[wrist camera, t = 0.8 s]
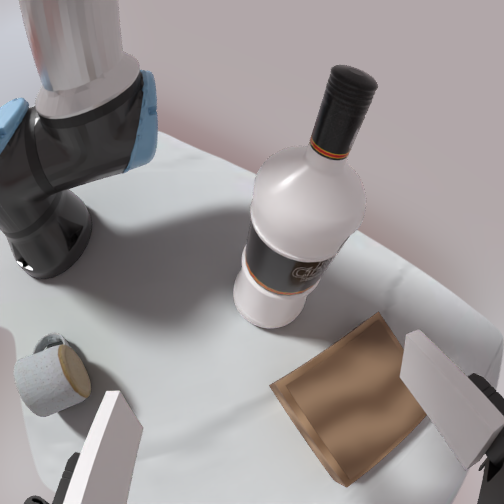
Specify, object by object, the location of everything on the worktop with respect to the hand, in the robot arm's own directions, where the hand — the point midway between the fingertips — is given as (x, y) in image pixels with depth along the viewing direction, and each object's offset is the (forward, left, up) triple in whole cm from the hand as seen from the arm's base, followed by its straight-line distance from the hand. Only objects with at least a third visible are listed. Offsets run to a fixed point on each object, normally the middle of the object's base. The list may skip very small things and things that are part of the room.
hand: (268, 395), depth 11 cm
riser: (+8, +12, -22) cm, 27 cm away
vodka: (-10, +10, -22) cm, 26 cm away
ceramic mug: (-12, -20, -23) cm, 32 cm away
